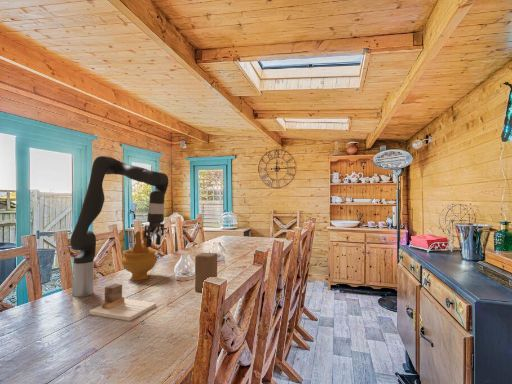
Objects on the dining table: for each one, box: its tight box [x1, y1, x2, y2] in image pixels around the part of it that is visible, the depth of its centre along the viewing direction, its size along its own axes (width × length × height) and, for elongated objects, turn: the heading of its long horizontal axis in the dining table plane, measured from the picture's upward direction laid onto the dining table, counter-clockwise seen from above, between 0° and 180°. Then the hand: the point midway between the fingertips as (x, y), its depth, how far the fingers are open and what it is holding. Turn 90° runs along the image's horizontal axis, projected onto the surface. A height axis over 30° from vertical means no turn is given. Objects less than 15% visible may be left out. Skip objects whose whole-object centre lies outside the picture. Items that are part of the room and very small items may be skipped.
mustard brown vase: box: [121, 229, 158, 281], centre depth 196 cm, size 21×21×30 cm
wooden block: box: [194, 252, 218, 293], centre depth 171 cm, size 10×10×20 cm
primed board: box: [88, 298, 157, 322], centre depth 141 cm, size 22×18×2 cm
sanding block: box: [101, 283, 125, 309], centre depth 143 cm, size 5×9×9 cm, turn 162°
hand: (153, 245), depth 150 cm, fingers open, 8 cm apart
